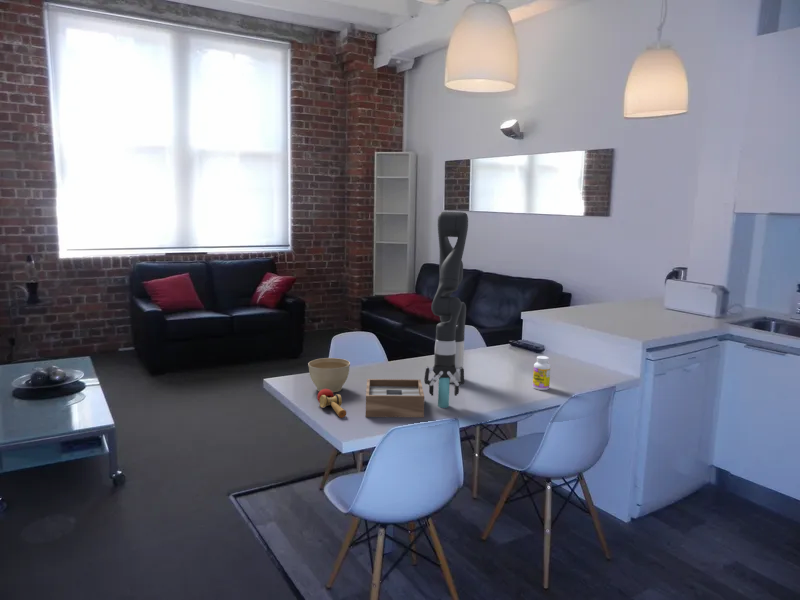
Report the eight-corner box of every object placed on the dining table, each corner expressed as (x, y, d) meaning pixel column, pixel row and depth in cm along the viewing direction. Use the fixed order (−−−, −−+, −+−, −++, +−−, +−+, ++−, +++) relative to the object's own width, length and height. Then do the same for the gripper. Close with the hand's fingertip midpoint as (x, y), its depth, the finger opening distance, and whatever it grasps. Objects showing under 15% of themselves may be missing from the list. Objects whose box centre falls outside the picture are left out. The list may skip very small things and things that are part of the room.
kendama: (354, 419, 207) (333, 397, 221) (352, 403, 204) (331, 382, 219) (333, 426, 203) (314, 404, 218) (331, 410, 201) (311, 388, 216)
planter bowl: (329, 381, 245) (330, 355, 244) (358, 389, 235) (358, 362, 233) (299, 390, 233) (299, 362, 231) (328, 399, 223) (328, 370, 221)
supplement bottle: (529, 387, 242) (530, 356, 240) (538, 384, 247) (540, 354, 245) (543, 391, 237) (545, 360, 235) (552, 388, 242) (554, 357, 240)
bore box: (366, 398, 225) (367, 378, 224) (420, 398, 225) (420, 379, 224) (365, 416, 205) (365, 395, 204) (423, 417, 206) (424, 396, 205)
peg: (437, 404, 220) (438, 375, 218) (448, 404, 220) (449, 375, 218) (438, 407, 216) (439, 378, 214) (449, 407, 216) (450, 378, 214)
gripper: (463, 349, 219) (461, 392, 221) (424, 348, 218) (423, 391, 221) (466, 354, 211) (464, 398, 214) (426, 354, 211) (424, 398, 213)
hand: (443, 395), depth 217 cm, fingers open, 8 cm apart
